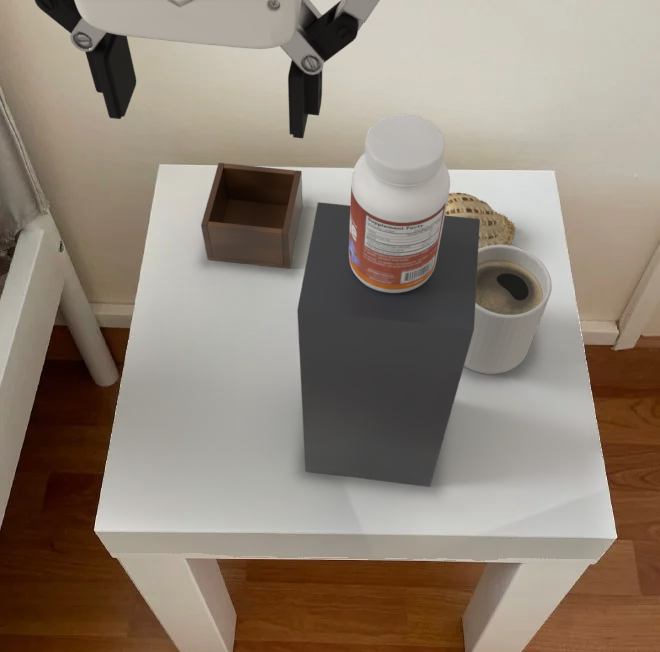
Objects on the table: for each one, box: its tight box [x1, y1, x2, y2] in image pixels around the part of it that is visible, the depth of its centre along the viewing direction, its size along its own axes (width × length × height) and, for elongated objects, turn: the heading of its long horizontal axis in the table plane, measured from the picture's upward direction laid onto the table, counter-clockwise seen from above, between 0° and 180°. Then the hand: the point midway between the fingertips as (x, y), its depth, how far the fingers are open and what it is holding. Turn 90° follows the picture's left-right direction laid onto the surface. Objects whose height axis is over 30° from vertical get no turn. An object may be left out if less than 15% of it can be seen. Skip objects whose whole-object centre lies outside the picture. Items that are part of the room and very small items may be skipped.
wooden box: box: [200, 162, 304, 269], centre depth 90 cm, size 9×9×6 cm
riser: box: [296, 201, 480, 488], centre depth 68 cm, size 12×10×26 cm
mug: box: [464, 245, 553, 375], centre depth 81 cm, size 11×10×10 cm
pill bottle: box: [349, 113, 451, 293], centre depth 52 cm, size 6×6×11 cm
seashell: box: [445, 192, 516, 249], centre depth 90 cm, size 8×6×10 cm
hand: (211, 110), depth 43 cm, fingers open, 9 cm apart
